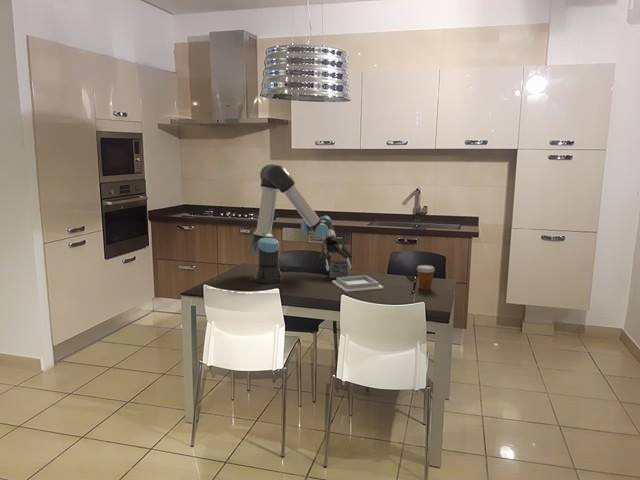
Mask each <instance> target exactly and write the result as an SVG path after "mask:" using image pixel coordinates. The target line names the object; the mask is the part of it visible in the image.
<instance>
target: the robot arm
mask: <svg viewBox="0 0 640 480" xmlns="http://www.w3.org/2000/svg"><path fill="white" fill-rule="evenodd" d="M259 177H260V180H261V181H260V188H261V190H262V192H261V198H260V205H259V211H258V216H257V217H258V218H257V225H256V229H255V231H254V232H253V233H252V234H253V235H252V238H251V239H250V241H249V249H250V252H251V254H252V255H254V256H255V257H256V258H257V269H256V273H255V276H254V282H256V283H259V284H265V285H266V284H277V283H280V282H282V281H283V275H282V273H281V270H280V265H279V264H280V243H279V240H278V239H276V238H274V235H273V234H272V228H273V223H274V216H275V211H276V209H275V208H276V205H277V203H276V202H277V197H278V193H279V192H280V193H281V194H284V195H285V197H286V198H287V199H288V200H289V202H290V203H291V205H292V206H293V207H294V208H295V210H296V211H297V212H298V214H299V215H300V216H301V217H302V219H303V220H302V221H301V224H300V229H301V232H302V233H311V234H312V235H316V236H317V237H320V238H321V237H322V238H323V241H324V245H323V244H322V245H321V251H320V255H319V259H318V260H319V262H321V263H323V266H325V269H326V272H329V261H328V259H327V257H328V255H330V253H331V254H336V253H337V254H338V255H340V256H342V257H343V259H344V258H345V260H347V270H351V269H352V265H351V263H352V260H351V259H352V258H353V255H352V254H351V252H350V251H349V250H348V249H347V248H346V246H345V245H344V244H343V243H342V244H340V245H339V242H338V239H337V235H336V233H335V228H334V226H333V222H332V219H331V217H330V216H328V215H324V216H322V215H321V216H320V217H319V216H318V215H317V213H316V212H315V210H314V209H313V207H312V205H310V204H309V202H308V201H307V199H306V198H305V197H304V195H303V194H302V193H301V191H300V190H299V189H298V188H297V186H296V182H295V180H294V178H293V177H292V176H291V175H290V173H289V171H288V170H287V169H286V168H285V167H284V166H282V165H279V164H266V165H265V166H263V167H262V168H261V170H260V172H259ZM325 250H327V251H326V253H325V255H324V252H325Z"/></svg>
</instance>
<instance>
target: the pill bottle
mask: <svg viewBox="0 0 640 480" xmlns="http://www.w3.org/2000/svg"><path fill="white" fill-rule="evenodd" d="M435 270H436V269H435V267H434V266H433V265H429V264H420V265H418V266H417V267H416V271H417V279H418V281H417V283H418V288H420V289H419V290H422V289H424V290H423V291H427V290H428V289H429V290H432V289H431V288H432V285H433V284H432V283H433V278H434V273H435ZM429 290H428V291H429Z"/></svg>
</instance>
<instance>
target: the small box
mask: <svg viewBox="0 0 640 480" xmlns="http://www.w3.org/2000/svg"><path fill="white" fill-rule="evenodd" d="M328 265H329V271H328V272H329V274H328V276H329V277H328V279H330V280H336V278H338V277H348V266H347V260H346V258H345V259H344V258H343V259H334V258H333V259H332V258H331V259H329V261H328Z"/></svg>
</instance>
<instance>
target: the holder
mask: <svg viewBox="0 0 640 480" xmlns="http://www.w3.org/2000/svg"><path fill="white" fill-rule="evenodd" d="M331 283H332V284H334V285H335V286H336V287H338V288H340V289H341V290H342V291H344V292H346V293H349V292H358V291H359V292H360V291H371V290H381V289H383V290H384V285H381V284H380V282H379V281H377V280H375V279H373V278H372V277H370V276H368V275H367V274H365V275H353V276H347V277H338V278H336V279H331Z"/></svg>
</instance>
